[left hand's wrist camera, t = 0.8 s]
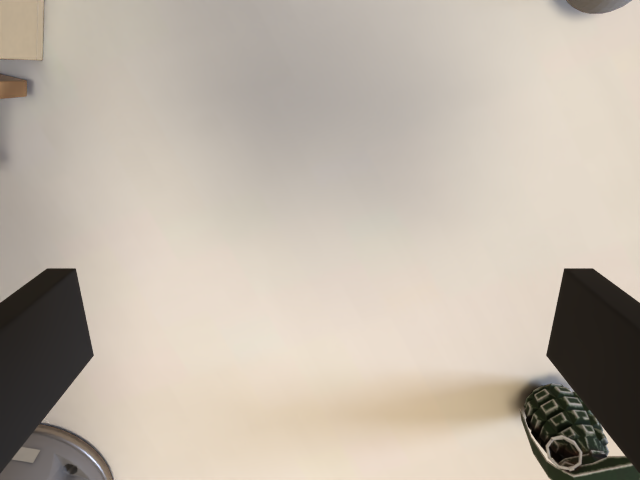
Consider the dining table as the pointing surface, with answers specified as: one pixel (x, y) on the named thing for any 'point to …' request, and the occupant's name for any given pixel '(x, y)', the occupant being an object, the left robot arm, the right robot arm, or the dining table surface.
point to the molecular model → (597, 5)
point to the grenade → (571, 438)
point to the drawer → (12, 87)
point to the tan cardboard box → (21, 29)
